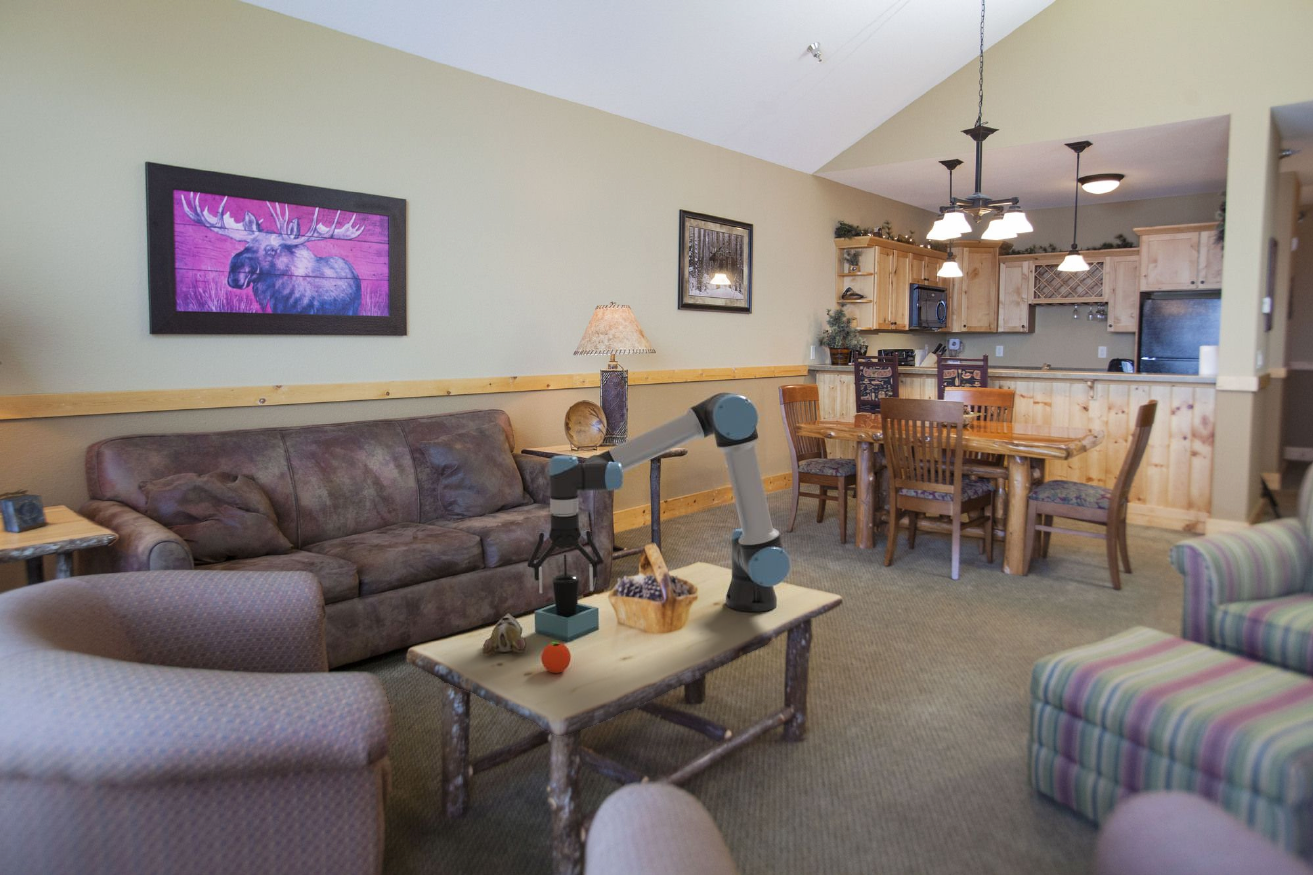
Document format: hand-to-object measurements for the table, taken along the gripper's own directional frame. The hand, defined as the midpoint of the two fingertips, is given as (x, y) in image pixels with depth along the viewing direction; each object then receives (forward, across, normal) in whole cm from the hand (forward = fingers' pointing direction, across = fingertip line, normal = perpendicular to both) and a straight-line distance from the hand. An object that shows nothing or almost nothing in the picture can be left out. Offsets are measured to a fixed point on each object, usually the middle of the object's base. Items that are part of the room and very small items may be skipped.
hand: (566, 590), depth 218 cm
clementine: (+11, +4, +28) cm, 30 cm away
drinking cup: (+10, 0, 0) cm, 10 cm away
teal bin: (+11, 0, 0) cm, 11 cm away
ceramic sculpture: (+12, +16, +11) cm, 23 cm away
